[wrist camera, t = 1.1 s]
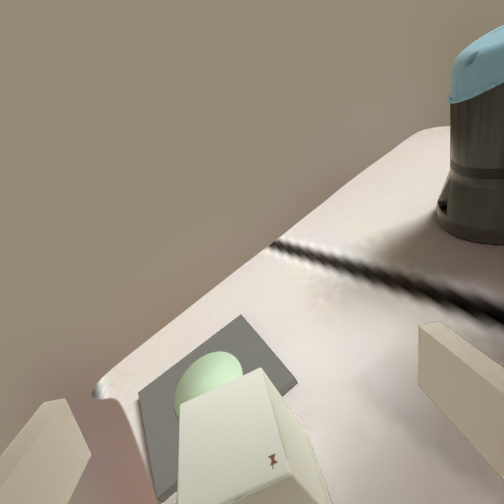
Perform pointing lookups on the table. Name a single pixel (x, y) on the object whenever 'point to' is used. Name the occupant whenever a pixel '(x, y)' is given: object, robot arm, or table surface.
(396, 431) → the table surface
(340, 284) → the table surface
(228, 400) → the supplement box
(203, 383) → the charging pad
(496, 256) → the table surface
